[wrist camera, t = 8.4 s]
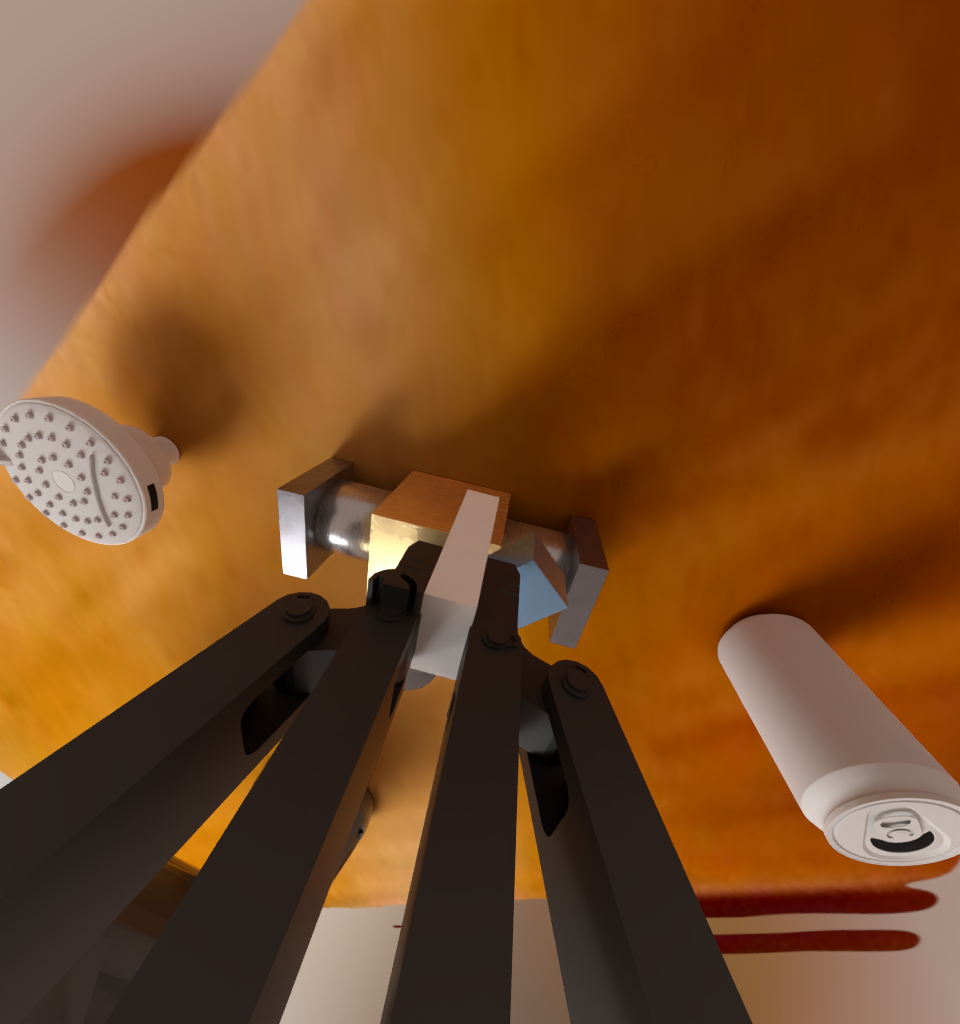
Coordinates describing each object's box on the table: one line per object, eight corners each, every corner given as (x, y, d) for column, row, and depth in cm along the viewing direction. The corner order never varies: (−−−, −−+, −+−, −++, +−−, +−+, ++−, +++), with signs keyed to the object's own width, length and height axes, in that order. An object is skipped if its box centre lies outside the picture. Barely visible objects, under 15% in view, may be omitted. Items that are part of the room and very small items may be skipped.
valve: (511, 493, 25) (495, 576, 16) (490, 574, 28) (468, 679, 19) (413, 470, 25) (347, 539, 17) (403, 552, 28) (344, 646, 20)
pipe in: (412, 476, 25) (378, 514, 20) (404, 547, 28) (372, 596, 23) (331, 457, 26) (276, 488, 20) (331, 529, 29) (283, 573, 23)
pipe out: (594, 520, 25) (609, 570, 20) (568, 588, 28) (575, 648, 22) (509, 499, 25) (501, 544, 20) (491, 569, 28) (480, 624, 23)
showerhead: (-67, 375, 19) (111, 432, 19) (86, 365, 26) (220, 407, 25) (-5, 524, 23) (141, 571, 23) (113, 484, 30) (227, 520, 30)
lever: (406, 659, 19) (389, 699, 17) (355, 606, 18) (330, 642, 16) (573, 585, 16) (579, 625, 13) (523, 514, 14) (520, 545, 12)
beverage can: (731, 680, 29) (841, 879, 18) (699, 625, 27) (800, 811, 17) (822, 654, 27) (1008, 864, 16) (793, 593, 25) (981, 784, 14)
